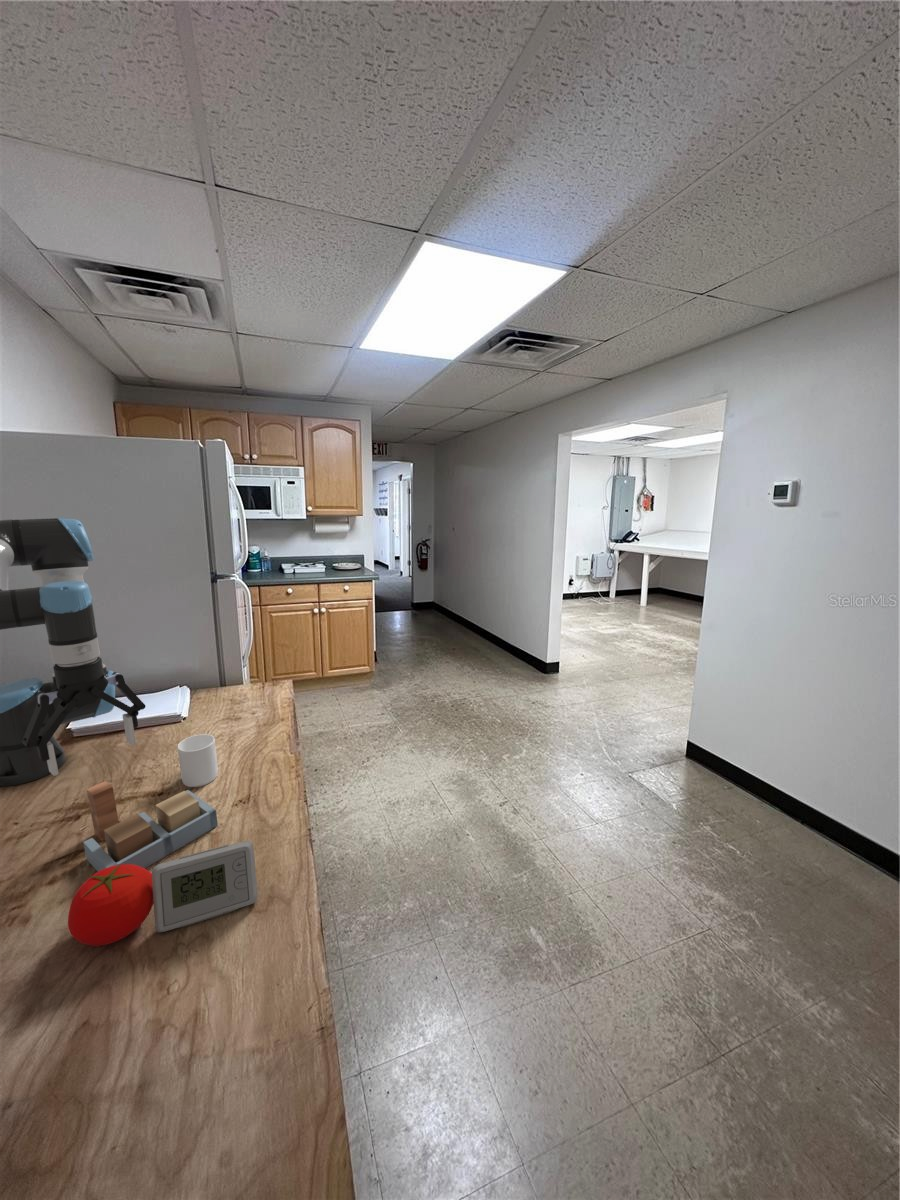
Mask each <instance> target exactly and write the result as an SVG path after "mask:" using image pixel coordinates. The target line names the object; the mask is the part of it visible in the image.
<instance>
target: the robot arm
mask: <svg viewBox="0 0 900 1200" xmlns="http://www.w3.org/2000/svg"><path fill="white" fill-rule="evenodd" d="M88 537H89V536H88V534H87V532H86V529H85V527H84V524H83V523H82V522H81V521H80V520H78V519H77V518H76V519H75V518H62V517H61V518H60V517H57V518H29V519H2V520H0V630H9V629H16V628H24V627H25V628H26V627H32V626H39V625H40V626H41V625H45V629H46V634H47V638H48V639H47V640H48V645H49V652H50V657H51V662H52V664H54V666H53V673H52V674H51V677H52V678H51V679H52V681H49V682H44V683H43V681H42V679H40V678H36V677H34V678H33V677H32V678H24V679H19V680H14V681H12V682H8V683H6V684H2V685H1V686H0V787H9V786H16V785H21V784H26V783H29V782H32V781H33V782H34V781H36V780H38V779H41V778H43V777H45V776H48V775H50V774H51V775H52V776H54V777H55V776H58V775H60V774H59V768H61V767H62V766H63V765H64V764H65V762H66V760H67V758H66V752H65V750H64V748H63V747H62V745H61V744H60V743H59V742H58V740H57V738H56V736H54V735H55V734H56V732H57V730H58V729H59V727H60V726H61V725H64V724H65V725H66V724H69V723H72V722H77V721H81V720H87V719H91V718H96V717H99V716H101V715H102V716H103V715H105V714H108V713H110V712H112V711H113V709H114V707H116V708H117V709H120V710H121V711H123V712H125V713H123V714H121V715H122V721H123V727H124V728H123V729H124V733H125V740H126V743H128V744H129V745H131V746H135V745H136V744H137V742H136V735H135V729H137V728H138V726H139V722H138V721H139V720H138V715H139V714H140V713H139V712H140V711H141V710H142V711H143V710H144V709H145V708H146V704H145V703H144V702H143V701H142V700H141V699H140V697H139V696H137V694H136V693H135V692H134V690H132V688H130V687H129V686H128V685H127V683H126V682H125V678H124V675H123V674H121V673H119V672H116V671H115V672H114V671H113V670H109V669H107V665H106V664H104V663H103V660H102V658H101V657H100V656H101V649H100V644H99V638H98V633H97V627H96V620H95V614H94V613H95V612H94V606H93V597H92V593H91V591H90V586H89V584H88V583H86V582H85V580H84V574H85V572H86V571H88V569H89V562H93V561H94V560H95V556H94V554H93V551H92V546H91V543H90V540H89V538H88ZM17 566H18V567H19V566H21V567H22V566H31V570H32V573H33V574H35V575H36V576H38V577H39V578H40V579H41V581H42V586H37V587H28V588H27V587H25V588H17V589H15V588H14V589H9V588H10V587H9V584H10V583H9V577H10V576H9V575H10V574H9V568H10V567H17ZM116 687H117V688H118V689H119V691H120V692H121V693H122V694H123V695H124V696H125V697H126V698H127V700H129V702H131V704H132V705H131V706H129V705H128V704H126V703H125V702H122V701H120V700H119V699H118V698H116Z"/></svg>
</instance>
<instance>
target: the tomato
mask: <svg viewBox="0 0 900 1200" xmlns="http://www.w3.org/2000/svg"><path fill="white" fill-rule="evenodd" d="M88 877H89V878H87V879H86V881H84V882H83V884H81V885H80V887H79V888H78V889H77V891H76V892H75V894H74V896H73V898H72V900H71V903H70V907H69V911H68V917H67V926H68V930H69V933H70V935H71V936H72V938H73V939H74V940H75V941H78V942H79V943H81V944H84V945H87V946H93V947H94V946H96V947H101V946H105V945H109V944H113V943H115V942H118V941H121V940H123V939H124V938H126V937H127V936H129V935H130V934H132V933H133V932H135V930H136V929H137V928H139V927H140V926H141V925H142V924H143V923H144V921H145V920H146V919H147V917H148V916H149V915H150V912H151V910H152V907H154V901H153V886H152V872H151V871H149V870H148V869H147V868H143V867H140V866H137V865H132V864H125V865H121V864H120V865H115V866H111V867H108V868H105V869H103V870H100V871H99V872H98V871H97V872H95V873H94V874H92V875H89V876H88Z"/></svg>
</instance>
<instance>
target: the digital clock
mask: <svg viewBox="0 0 900 1200" xmlns="http://www.w3.org/2000/svg"><path fill="white" fill-rule="evenodd" d="M254 848H255V847H254V844H253V842H252V841H250V840H244V841H240V842H237V843H232V844H225V845H221V846H217V847H212V848H210V849H205V850H202V851H199V852H194V853H190V854H186V855H182V856H179V857H178V858H176V859H172V860H168V861H164V862H161V863H158V864H156V865H155V866H153V867H152V869H151V873H152V886H153V901H154V904H153V912H154V925H155V930H156V932H158V933H165V932H168V931H171V930H175V929H177V928H183V927H187V926H191V925H194V924H196V923H200V922H203V921H206V920H209V919H213V918H215V917H219V916H221V915H225V914H228V913H231V912H232V913H233V912H235V911H237V910H238V909H240V908H245V907H247V906H250V905H252V904H255V903H256V902H257V901H258V898H259V897H258V893H259V892H258V885H257V884H258V883H257V873H256V871H257V870H256V860H255V849H254Z"/></svg>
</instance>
